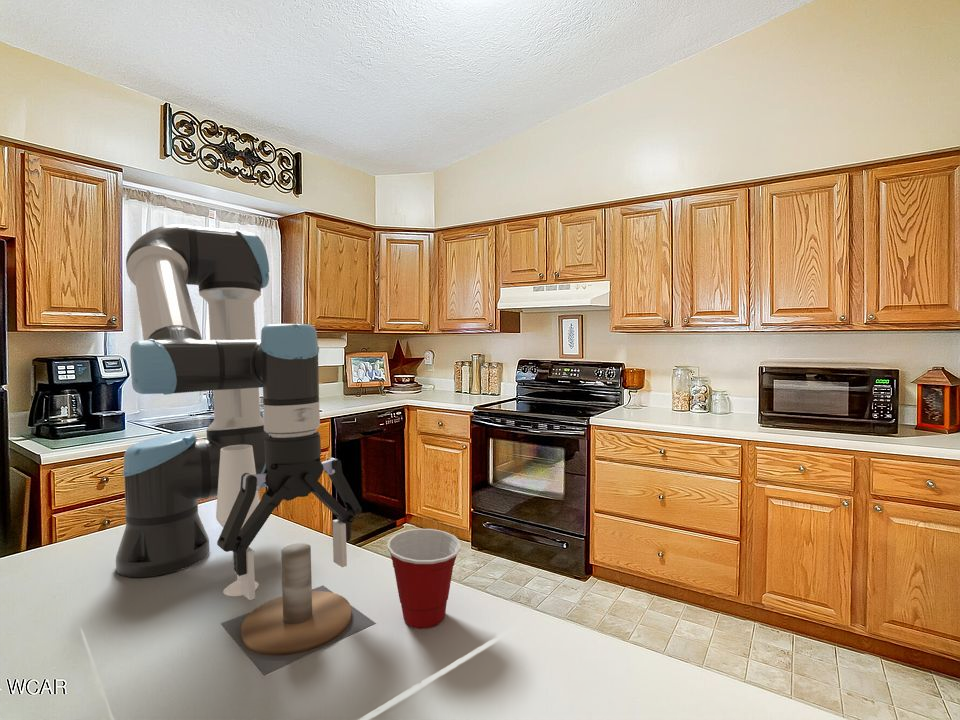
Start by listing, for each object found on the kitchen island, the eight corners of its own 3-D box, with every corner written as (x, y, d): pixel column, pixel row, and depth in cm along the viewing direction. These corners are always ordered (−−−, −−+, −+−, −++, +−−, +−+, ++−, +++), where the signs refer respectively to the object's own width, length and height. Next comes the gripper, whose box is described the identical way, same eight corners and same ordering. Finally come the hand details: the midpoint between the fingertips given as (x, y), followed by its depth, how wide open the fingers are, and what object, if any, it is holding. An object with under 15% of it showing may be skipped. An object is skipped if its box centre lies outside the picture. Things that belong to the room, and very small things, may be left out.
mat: (220, 626, 74) (220, 623, 74) (323, 588, 85) (323, 585, 85) (264, 678, 63) (264, 674, 63) (375, 626, 74) (375, 623, 74)
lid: (225, 623, 74) (223, 549, 74) (321, 587, 85) (320, 522, 84) (266, 671, 64) (263, 584, 63) (370, 623, 74) (369, 548, 73)
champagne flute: (263, 577, 89) (258, 442, 88) (263, 595, 83) (258, 449, 82) (220, 585, 87) (215, 445, 86) (217, 604, 80) (211, 453, 79)
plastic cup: (436, 651, 68) (435, 563, 67) (372, 630, 73) (371, 548, 72) (475, 612, 78) (474, 534, 77) (416, 595, 83) (415, 522, 82)
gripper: (205, 450, 61) (212, 623, 62) (381, 424, 79) (385, 559, 80) (187, 442, 67) (193, 601, 68) (356, 419, 84) (359, 546, 85)
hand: (297, 579), depth 74 cm, fingers open, 13 cm apart
